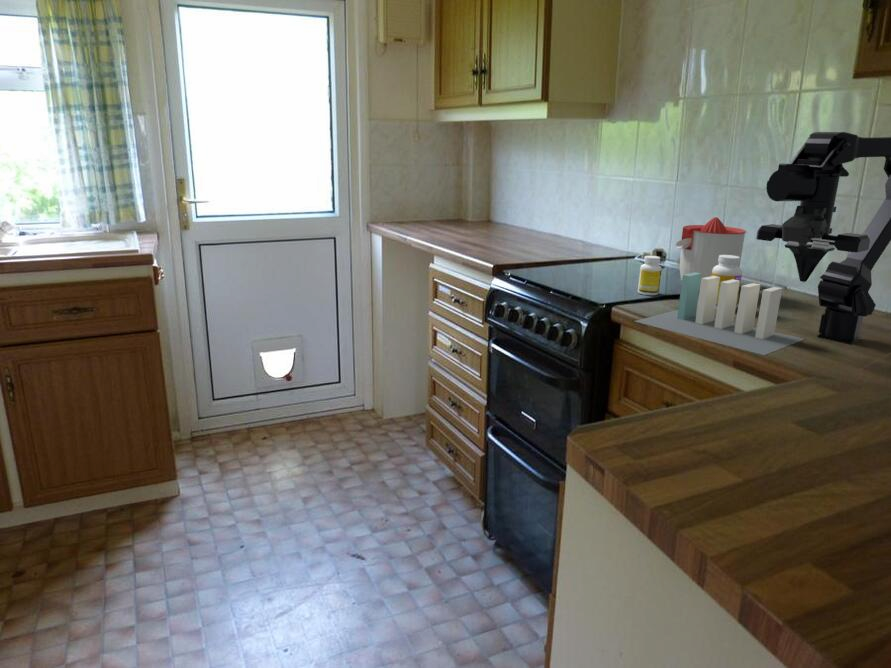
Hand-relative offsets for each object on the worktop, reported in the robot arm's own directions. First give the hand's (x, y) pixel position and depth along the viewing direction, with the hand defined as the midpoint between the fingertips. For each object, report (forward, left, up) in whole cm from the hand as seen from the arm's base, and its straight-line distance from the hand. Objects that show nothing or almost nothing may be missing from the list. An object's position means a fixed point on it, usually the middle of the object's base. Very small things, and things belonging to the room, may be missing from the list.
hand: (803, 281), depth 129 cm
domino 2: (+15, 0, -13) cm, 19 cm away
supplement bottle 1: (+44, -15, -13) cm, 48 cm away
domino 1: (+19, 0, -13) cm, 23 cm away
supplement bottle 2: (+24, -16, -13) cm, 31 cm away
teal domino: (+23, 0, -13) cm, 27 cm away
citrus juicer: (+37, -30, -13) cm, 49 cm away
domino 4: (+6, 0, -13) cm, 14 cm away
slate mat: (+14, +4, -13) cm, 20 cm away
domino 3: (+10, 0, -13) cm, 16 cm away
